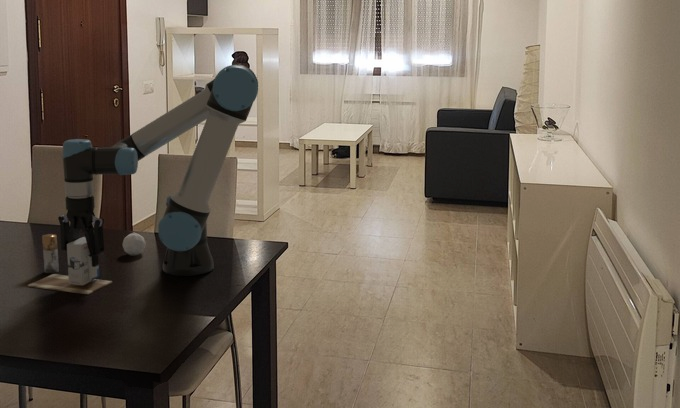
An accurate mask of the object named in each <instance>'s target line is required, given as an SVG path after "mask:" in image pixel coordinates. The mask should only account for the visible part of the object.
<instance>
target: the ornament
mask: <svg viewBox="0 0 680 408" xmlns="http://www.w3.org/2000/svg"><path fill="white" fill-rule="evenodd" d="M146 245H147V243H146V239H145V238H144V236H142V235H140V234H139V233H136V232H135V231H134V232H132V233H129V234H128V235H127V236H125V237H124V238H123V241H122V248H123V250H124V252H125V253H127V254H128V255H129V256H139V255H140V254H141V253H143V252H144V251H145V249H146Z"/></svg>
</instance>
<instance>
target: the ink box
mask: <svg viewBox="0 0 680 408" xmlns="http://www.w3.org/2000/svg"><path fill="white" fill-rule="evenodd" d="M66 255H67V276H68V280H69V284H74V285H85V284H87V283H89V282H90V281H92V280H94V279H97V278H99V277H100V263H99V264H98V266H97V276H96V277H94V278H92V279H90V278H89V270H88V256H89V255H90V252H89V248H88V245H87V241H86V238H85V236H82V237H80V238H79V237H78V239H77V240H75V241H73V242H71V243H68V244H67V251H66Z"/></svg>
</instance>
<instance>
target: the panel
mask: <svg viewBox="0 0 680 408" xmlns="http://www.w3.org/2000/svg"><path fill="white" fill-rule="evenodd" d="M112 283H113V281H112V280H106V279H97V278H96V279H94V280H92V281H90V282H89V283H87V284H85V285H74V284H69V280H68V275H67V274H66V275H64V274H58V273H51V274H50V275H48V276H45V277H43V278H41V279H39V280H36V281H34V282H32V283H31V282H30V283H29V284H27V288H28V287H30V288H38V289H45V290H50V291H51V290H52V291H59V292H66V293H67V292H68V293H75V294H82V295H90V294H92V293H94V292H96V291H98V290H100V289H103V288H104V287H106V286H108V285H110V284H112Z"/></svg>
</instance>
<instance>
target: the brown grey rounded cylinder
mask: <svg viewBox="0 0 680 408" xmlns="http://www.w3.org/2000/svg"><path fill="white" fill-rule="evenodd" d="M41 237H42V238H41V240H42V241H41V242H42V253H43V254H42V255H43V268H44V273H45V274H57V273H58V272H59V271H60V267H59V250H58V237H57V234H55V233H54V234H53V233H47V234H43V235H42V236H41Z"/></svg>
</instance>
